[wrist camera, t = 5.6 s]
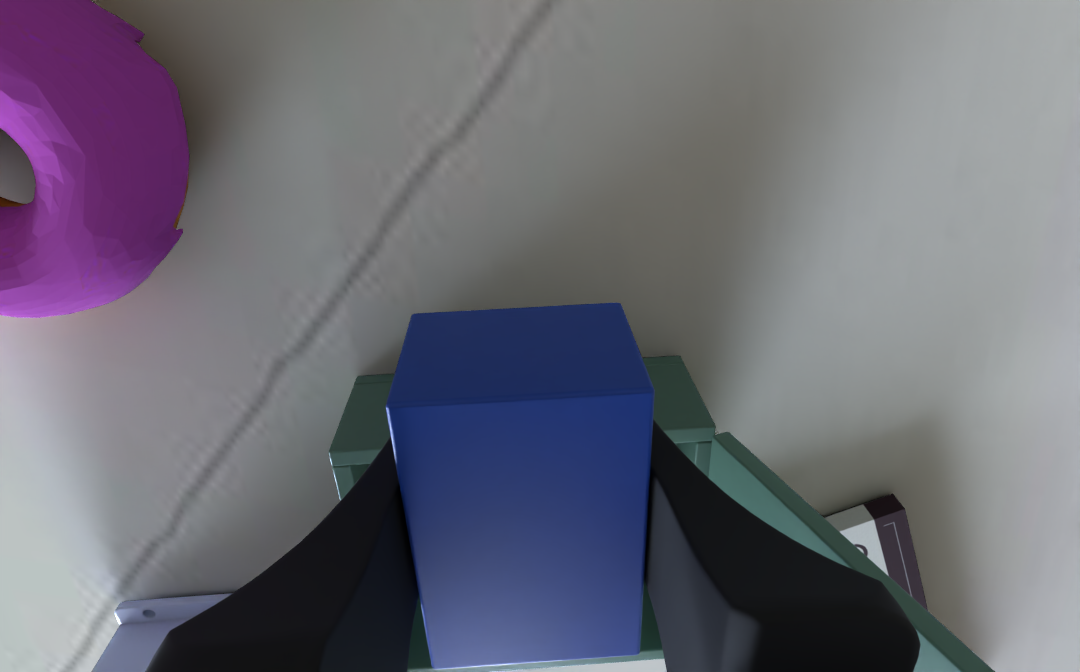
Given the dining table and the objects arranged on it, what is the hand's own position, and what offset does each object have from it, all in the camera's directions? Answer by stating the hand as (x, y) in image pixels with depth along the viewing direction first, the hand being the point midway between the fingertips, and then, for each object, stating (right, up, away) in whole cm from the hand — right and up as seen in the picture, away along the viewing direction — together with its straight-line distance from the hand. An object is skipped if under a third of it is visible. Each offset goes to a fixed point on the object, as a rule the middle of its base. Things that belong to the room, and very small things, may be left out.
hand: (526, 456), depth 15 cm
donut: (-15, +9, +5) cm, 18 cm away
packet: (0, 0, +1) cm, 1 cm away
